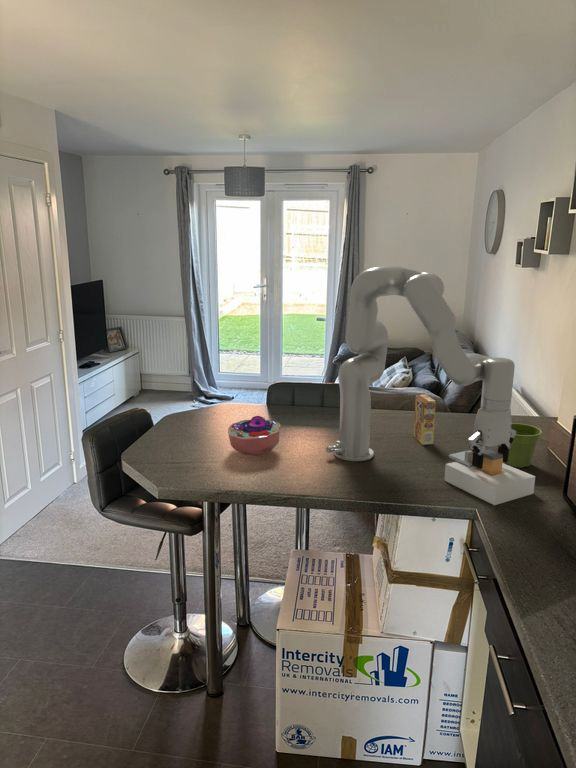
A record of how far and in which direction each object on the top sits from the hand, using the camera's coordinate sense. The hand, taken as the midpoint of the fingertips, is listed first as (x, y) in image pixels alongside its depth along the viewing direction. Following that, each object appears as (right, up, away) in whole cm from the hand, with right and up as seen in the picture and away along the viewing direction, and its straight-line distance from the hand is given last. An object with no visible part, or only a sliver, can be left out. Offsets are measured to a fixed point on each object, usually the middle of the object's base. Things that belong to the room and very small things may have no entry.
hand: (489, 463), depth 155 cm
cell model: (-66, 0, +27) cm, 72 cm away
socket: (0, -7, +2) cm, 7 cm away
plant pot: (+15, -3, +19) cm, 24 cm away
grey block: (-4, 0, +7) cm, 8 cm away
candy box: (-9, +2, +39) cm, 40 cm away
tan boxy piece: (0, -6, +1) cm, 6 cm away
